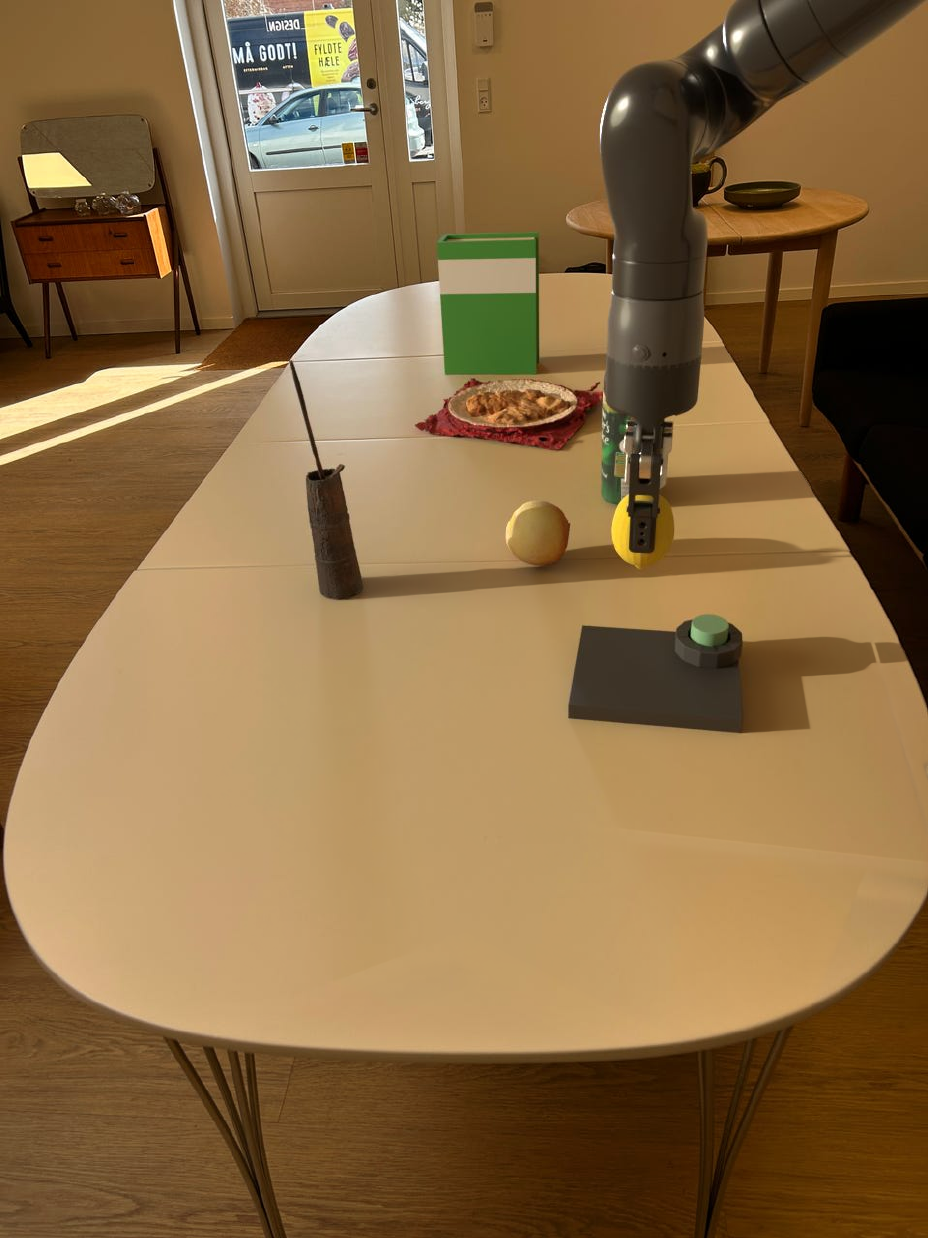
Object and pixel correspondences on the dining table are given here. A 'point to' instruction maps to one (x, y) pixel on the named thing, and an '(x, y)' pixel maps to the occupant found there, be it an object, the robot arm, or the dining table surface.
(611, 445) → the coffee jar
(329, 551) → the butter churn
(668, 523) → the lemon
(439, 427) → the plate with food
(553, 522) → the fruit
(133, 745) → the dining table surface
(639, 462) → the robot arm
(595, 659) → the dark grey button base
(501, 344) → the hardback book
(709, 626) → the button
